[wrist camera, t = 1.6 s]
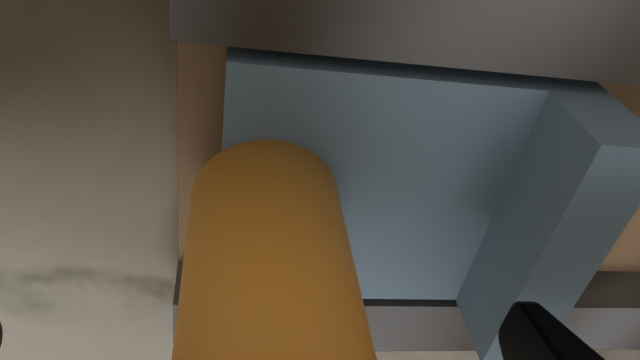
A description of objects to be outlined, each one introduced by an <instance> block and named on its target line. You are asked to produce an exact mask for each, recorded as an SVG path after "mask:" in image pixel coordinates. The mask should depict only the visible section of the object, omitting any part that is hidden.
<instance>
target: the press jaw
mask: <svg viewBox="0 0 640 360" xmlns="http://www.w3.org/2000/svg"><path fill="white" fill-rule="evenodd" d="M639 206H640V119H639V118H638V117H637V116H635V115H634V114H633V113H632V112H631V111H630V110H629V109H627V108H626V107H625V106H624V105H623V104H622V103H621V102H619V101H618V100H617V99H616V98H615V97H614V96H613V95H611V94H610V93H609V92H608V91H607V90H606V89H605V88H604V87H602V86H601V85H600V84H599V83H598V82H595V81H584V80H574V79H563V78H553V77H542V76H532V75H521V74H511V73H500V72H490V71H479V70H469V69H459V68H448V67H438V66H427V65H417V64H406V63H396V62H385V61H375V60H364V59H354V58H343V57H333V56H322V55H312V54H301V53H291V52H280V51H270V50H260V49H249V48H239V47H228V46H227V57H226V76H225V95H224V114H223V132H222V151H221V152H219V153H218V154H216V155H215V156H213V157H212V158H211V159H210V160H209V161H207V163H206V164H205V165H204V166H203V167H202V168H201V170H200V171H199V173H198V174H197V176H196V178H195V180H194V182H193V186H192V190H191V198H190V207H189V215H188V224H187V233H186V241H185V250H184V258H183V267H182V276H181V284H180V293H179V301H178V310H177V319H176V327H175V336H174V345H173V353H172V360H377V359H376V355H375V350H374V346H373V342H372V337H371V333H370V329H369V324H368V320H367V316H366V311H365V307H364V303H363V299H434V300H456V302H457V305H458V307H459V310H460V312H461V315H462V317H463V319H464V322H465V324H466V327H467V329H468V332H469V334H470V337H471V339H472V342H473V344H474V347H475V349H476V352H477V354H478V356H479V359H480V360H503V357H502V353H501V348H500V344H499V339H498V332H499V328H500V326H501V324H502V322H503V320H504V318H505V316H506V315H507V313H508V311H509V309H510V307H511V305H512V304H513V303H515V302H516V301H534V302H537V303H539V304H540V305H542V306H543V307H544V308H545V309H546V310H547V311H549V312H550V313H551V314H552V315H553V316H554V317H556V318H557V319H558V320H559V321H560V322H561V323H563V322H564V321H565V319H566V318H567V316H568V314H569V313H570V311H571V310H572V308H573V307H574V305H575V304H576V302H577V301H578V299H579V298H580V296H581V295H582V293H583V291H584V290H585V288H586V287H587V285H588V284H589V282H590V281H591V279H592V278H593V276H594V275H595V273H596V272H597V270H598V268H599V267H600V265H601V264H602V262H603V261H604V259H605V258H606V256H607V255H608V253H609V252H610V250H611V249H612V247H613V245H614V244H615V242H616V241H617V239H618V238H619V236H620V235H621V233H622V232H623V230H624V229H625V227H626V226H627V224H628V222H629V221H630V219H631V218H632V216H633V215H634V213H635V212H636V210H637V209H638V207H639Z"/></svg>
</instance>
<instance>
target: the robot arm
mask: <svg viewBox="0 0 640 360" xmlns="http://www.w3.org/2000/svg"><path fill="white" fill-rule="evenodd" d="M2 335H3V332H2V326H1V323H0V347H1V343H2ZM498 339H499V344H500V348H501V353H502V357H503V360H605V359H604V358H602V357H601V356H600V355H599V354H598V353H597V352H595V351H594V350H593V349H592V348H591V347H590V346H588V345H587V344H586V343H585V342H584V341H583V340H581V339H580V338H579V337H578V336H577V335H576V334H574V333H573V332H572V331H571V330H570V329H568V328H567V327H566V326H565V325H564V324H563V323H561V322H560V321H559V320H558V319H557V318H556V317H554V316H553V315H552V314H551V313H550V312H549V311H547V310H546V309H545V308H544V307H543V306H542V305H540V304H539V303H537V302H534V301H516V302H515V303H513V304H512V305H511V307H510V309H509V311H508V313H507V315H506V316H505V318H504V320H503V322H502V324H501V326H500V328H499V332H498Z"/></svg>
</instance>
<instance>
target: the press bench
mask: <svg viewBox="0 0 640 360" xmlns="http://www.w3.org/2000/svg"><path fill="white" fill-rule="evenodd" d="M169 41H176V42H177V69H178V269H177V277H176V284H175V292H174V300H173V344H174V336H175V327H176V319H177V310H178V301H179V293H180V284H181V276H182V267H183V258H184V250H185V241H186V233H187V224H188V215H189V207H190V198H191V190H192V186H193V182H194V180H195V178H196V176H197V174H198V173H199V171H200V170H201V168H202V167H203V166H204V165H205V164H206V163H207V161H209V160H210V159H211V158H212V157H213V156H215V155H216V154H218V153H219V152H221V151H222V132H223V114H224V95H225V76H226V57H227V46H228V47H239V48H249V49H260V50H270V51H280V52H291V53H301V54H312V55H322V56H333V57H343V58H354V59H364V60H375V61H385V62H396V63H406V64H417V65H427V66H438V67H448V68H459V69H469V70H479V71H490V72H500V73H511V74H521V75H532V76H542V77H553V78H563V79H574V80H584V81H595V82H598V83H599V84H600V85H601V86H602V87H604V88H605V89H606V90H607V91H608V92H609V93H610V94H611V95H613V96H614V97H615V98H616V99H617V100H618V101H619V102H621V103H622V104H623V105H624V106H625V107H626V108H627V109H629V110H630V111H631V112H632V113H633V114H634V115H635V116H637V117H638V118H639V119H640V0H169ZM363 303H364V307H365V311H366V316H367V320H368V324H369V329H370V333H371V337H372V342H373V346H374V350H375V351H475V350H476V349H475V347H474V344H473V342H472V339H471V337H470V334H469V332H468V329H467V327H466V324H465V322H464V319H463V317H462V315H461V312H460V310H459V307H458V305H457V302H456V300H434V299H363ZM563 324H564V325H565V326H566V327H567V328H568V329H570V330H571V331H572V332H573V333H574V334H576V335H577V336H578V337H579V338H580V339H581V340H583V341H584V342H585V343H586V344H587V345H588V346H590V347H591V348H592V349H593V350H594V349H640V206H639V207H638V209H637V210H636V212H635V213H634V215H633V216H632V218H631V219H630V221H629V222H628V224H627V226H626V227H625V229H624V230H623V232H622V233H621V235H620V236H619V238H618V239H617V241H616V242H615V244H614V245H613V247H612V249H611V250H610V252H609V253H608V255H607V256H606V258H605V259H604V261H603V262H602V264H601V265H600V267H599V268H598V270H597V272H596V273H595V275H594V276H593V278H592V279H591V281H590V282H589V284H588V285H587V287H586V288H585V290H584V291H583V293H582V295H581V296H580V298H579V299H578V301H577V302H576V304H575V305H574V307H573V308H572V310H571V311H570V313H569V314H568V316H567V318H566V319H565V321H564V322H563Z"/></svg>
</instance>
